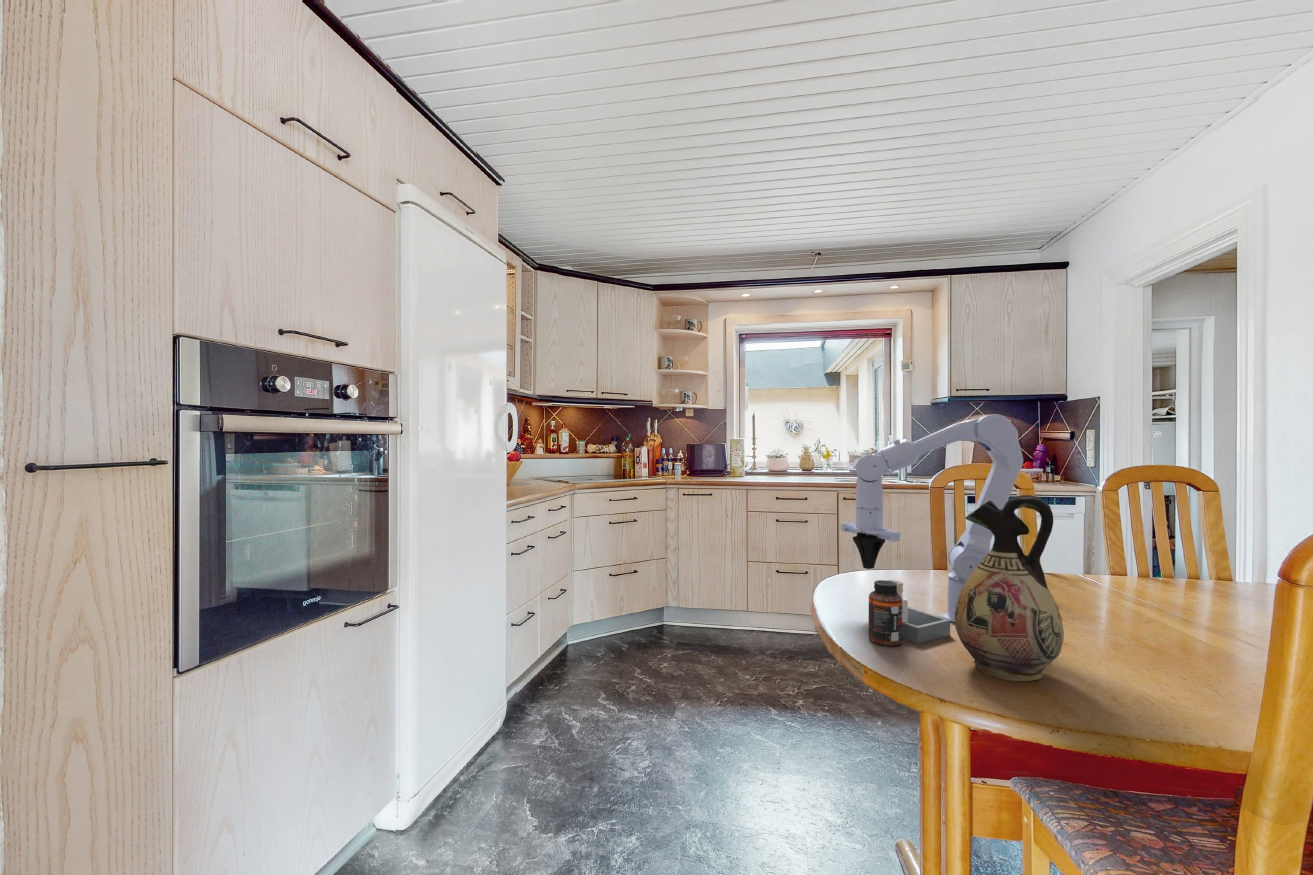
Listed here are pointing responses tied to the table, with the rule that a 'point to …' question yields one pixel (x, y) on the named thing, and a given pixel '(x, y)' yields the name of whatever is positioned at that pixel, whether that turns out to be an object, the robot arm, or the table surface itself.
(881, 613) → the supplement bottle
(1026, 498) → the ceramic jug
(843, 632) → the table surface
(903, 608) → the pepper shaker
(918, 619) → the box
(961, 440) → the robot arm
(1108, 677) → the table surface
